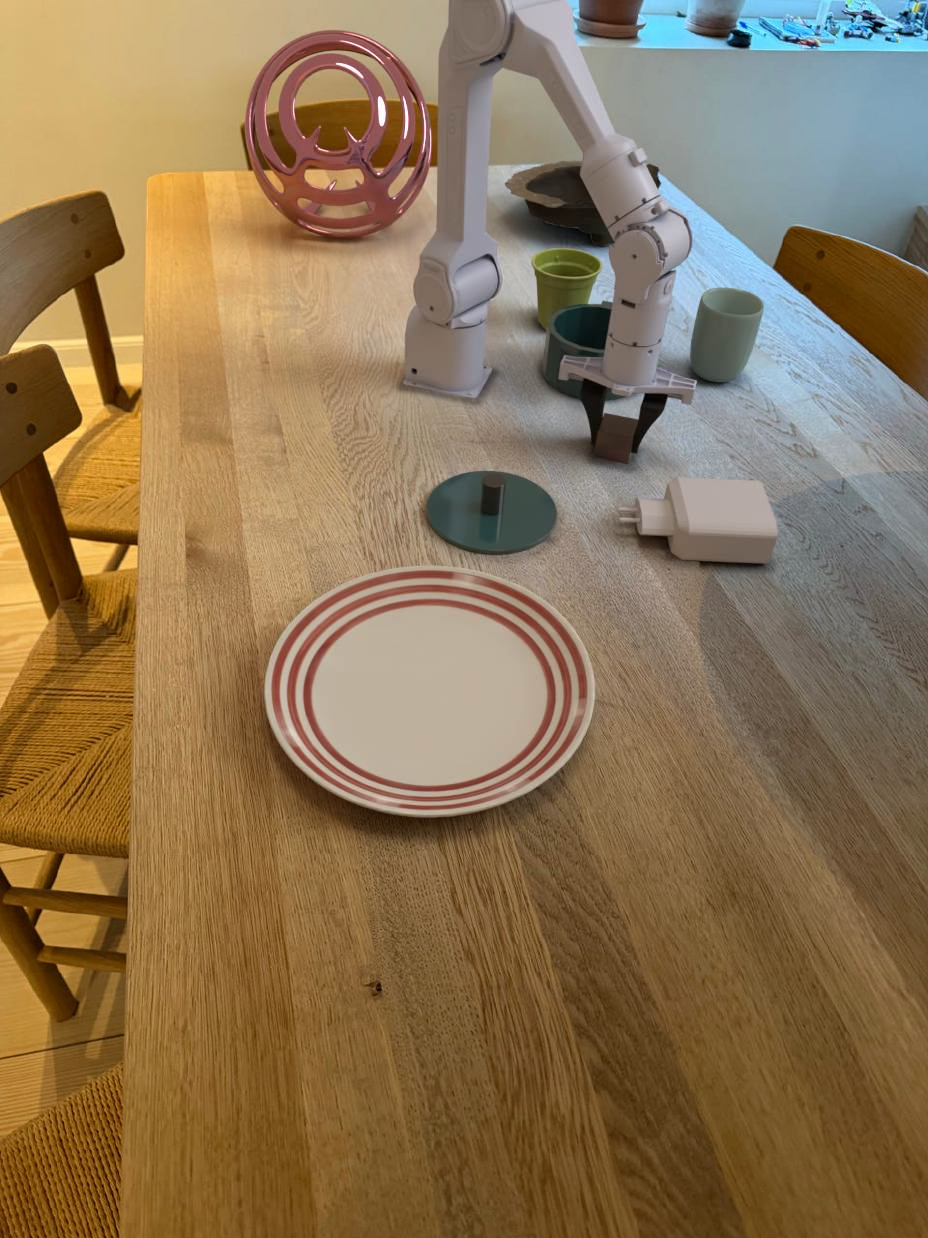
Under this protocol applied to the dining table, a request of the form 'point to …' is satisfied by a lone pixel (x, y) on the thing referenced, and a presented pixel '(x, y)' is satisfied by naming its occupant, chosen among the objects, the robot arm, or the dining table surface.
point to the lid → (491, 512)
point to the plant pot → (563, 279)
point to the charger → (710, 520)
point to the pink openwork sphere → (358, 150)
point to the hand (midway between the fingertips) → (614, 444)
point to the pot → (575, 342)
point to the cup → (724, 333)
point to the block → (615, 438)
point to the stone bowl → (564, 197)
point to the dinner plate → (429, 691)
